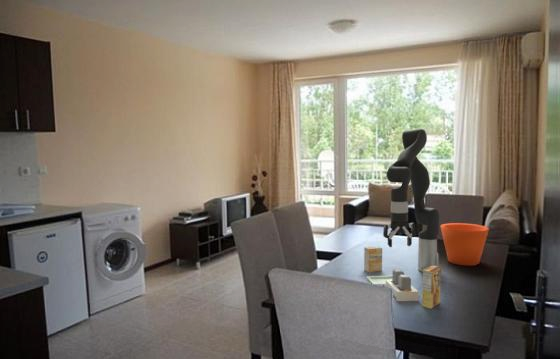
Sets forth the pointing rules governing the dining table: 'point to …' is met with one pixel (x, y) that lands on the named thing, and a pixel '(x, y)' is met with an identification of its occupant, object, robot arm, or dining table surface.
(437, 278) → the candy box
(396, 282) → the plug
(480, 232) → the flowerpot
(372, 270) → the supplement box
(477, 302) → the dining table surface
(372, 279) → the tray
